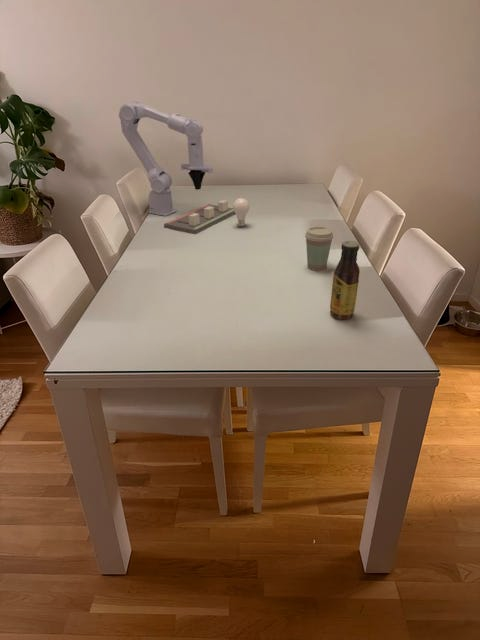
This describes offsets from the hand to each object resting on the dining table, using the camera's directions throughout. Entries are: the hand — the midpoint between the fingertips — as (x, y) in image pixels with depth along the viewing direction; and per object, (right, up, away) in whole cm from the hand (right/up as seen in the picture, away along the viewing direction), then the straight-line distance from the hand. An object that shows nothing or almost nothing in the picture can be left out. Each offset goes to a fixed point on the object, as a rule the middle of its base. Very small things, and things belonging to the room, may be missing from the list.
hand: (198, 189), depth 190 cm
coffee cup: (+42, -37, -43) cm, 71 cm away
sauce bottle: (+44, -53, -70) cm, 98 cm away
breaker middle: (+5, -12, -4) cm, 14 cm away
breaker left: (+10, -8, +3) cm, 13 cm away
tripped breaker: (0, -17, -11) cm, 20 cm away
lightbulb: (+18, -17, -9) cm, 27 cm away
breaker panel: (+2, -13, -2) cm, 13 cm away
